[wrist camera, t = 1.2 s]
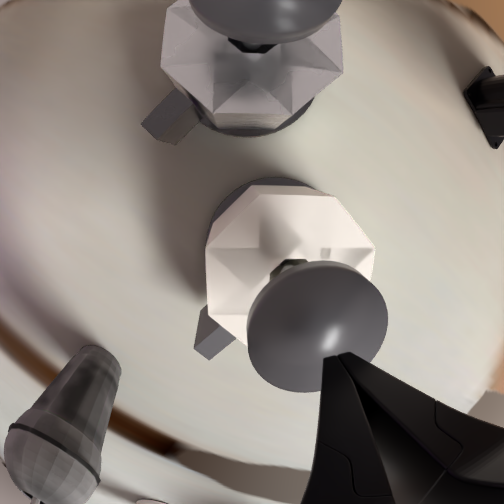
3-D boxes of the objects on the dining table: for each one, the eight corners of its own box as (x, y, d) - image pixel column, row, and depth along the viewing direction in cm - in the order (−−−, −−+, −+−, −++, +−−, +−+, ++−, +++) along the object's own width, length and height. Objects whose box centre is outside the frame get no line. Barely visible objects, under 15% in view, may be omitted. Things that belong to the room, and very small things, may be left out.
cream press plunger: (293, 206, 14) (335, 237, 8) (351, 272, 15) (408, 330, 9) (221, 274, 15) (215, 344, 9) (285, 331, 16) (309, 409, 10)
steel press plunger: (253, -10, 10) (265, -81, 4) (322, 47, 12) (372, -8, 6) (180, 42, 11) (152, -22, 5) (251, 104, 12) (266, 61, 7)
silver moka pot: (248, -3, 14) (255, -54, 8) (342, 81, 17) (385, 53, 11) (128, 98, 16) (85, 75, 10) (222, 188, 19) (217, 201, 13)
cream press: (278, 148, 18) (300, 141, 12) (362, 245, 21) (407, 277, 14) (160, 265, 20) (133, 308, 14) (251, 343, 22) (258, 400, 16)
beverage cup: (58, 361, 22) (-29, 515, 3) (81, 317, 21) (-43, 507, 2) (116, 402, 24) (65, 571, 5) (148, 366, 23) (91, 584, 4)
